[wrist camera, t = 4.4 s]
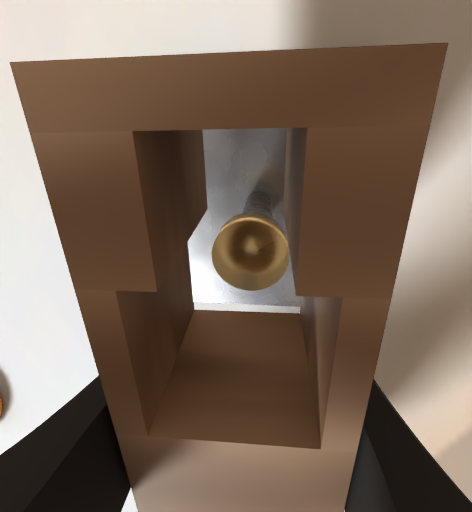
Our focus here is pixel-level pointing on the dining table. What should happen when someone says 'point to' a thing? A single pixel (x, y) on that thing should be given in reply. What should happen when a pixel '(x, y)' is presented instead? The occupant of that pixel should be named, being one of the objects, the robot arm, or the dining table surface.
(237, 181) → the hook plate
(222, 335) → the block
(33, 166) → the dining table surface
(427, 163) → the dining table surface
